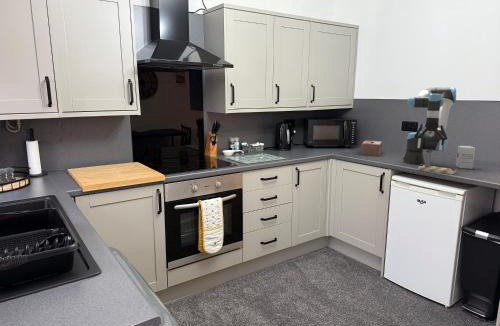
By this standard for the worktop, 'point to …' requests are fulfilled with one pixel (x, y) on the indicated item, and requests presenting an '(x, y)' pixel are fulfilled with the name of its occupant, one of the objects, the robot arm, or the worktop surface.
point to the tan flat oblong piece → (437, 169)
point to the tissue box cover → (371, 148)
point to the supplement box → (465, 157)
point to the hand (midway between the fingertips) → (429, 148)
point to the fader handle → (428, 158)
